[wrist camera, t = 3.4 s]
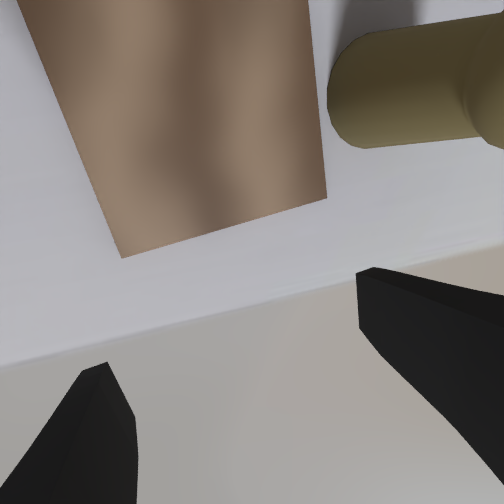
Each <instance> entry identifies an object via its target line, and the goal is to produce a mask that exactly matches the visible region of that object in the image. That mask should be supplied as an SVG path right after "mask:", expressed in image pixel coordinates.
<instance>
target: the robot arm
mask: <svg viewBox="0 0 504 504" xmlns="http://www.w3.org/2000/svg"><path fill="white" fill-rule="evenodd" d="M356 285H357V300H358V315H359V328H360V330H361V331H362V332H363V333H364V335H365V336H366V338H367V339H368V340H369V341H370V343H371V344H372V345H373V346H374V348H375V349H376V350H377V351H378V353H379V354H380V355H381V356H382V357H383V358H384V359H385V360H386V361H387V362H388V363H389V364H390V365H391V366H392V367H393V368H394V369H395V370H396V371H397V372H398V373H400V375H401V376H402V377H403V378H404V379H405V380H406V381H407V382H409V383H410V384H411V385H412V386H413V387H414V388H415V389H416V390H417V391H418V392H419V393H420V394H421V395H422V396H423V397H424V398H425V399H426V400H427V401H428V402H429V403H430V404H431V405H432V406H434V408H436V410H438V411H439V412H440V413H441V414H442V415H443V416H444V417H445V418H446V419H447V420H448V421H449V423H451V425H452V426H453V427H454V428H455V429H456V430H457V431H458V432H459V433H460V434H461V436H462V437H463V438H464V439H465V440H466V441H467V442H468V444H469V445H470V446H471V447H472V448H473V449H474V450H475V452H476V453H477V454H478V455H479V456H480V457H481V458H482V460H483V461H484V462H485V463H486V464H487V465H488V467H489V468H490V469H491V470H492V471H493V473H494V474H495V475H496V476H497V477H498V479H499V480H500V481H501V482H502V483H503V485H504V296H503V295H498V294H493V293H488V292H483V291H478V290H473V289H468V288H464V287H459V286H455V285H451V284H447V283H442V282H438V281H434V280H430V279H426V278H422V277H417V276H413V275H409V274H405V273H401V272H396V271H392V270H387V269H382V268H376V267H372V268H370V269H367V270H364V271H361V272H358V273H356ZM137 480H138V446H137V433H136V421H135V416H134V414H133V412H132V410H131V408H130V406H129V404H128V402H127V400H126V398H125V396H124V394H123V392H122V390H121V388H120V386H119V384H118V382H117V380H116V378H115V376H114V374H113V372H112V370H111V368H110V366H109V364H108V362H105V363H102V364H100V365H97V366H94V367H91V368H88V369H85V370H83V371H82V372H81V373H80V375H79V376H78V377H77V379H76V380H75V382H74V383H73V384H72V386H71V387H70V389H69V390H68V392H67V393H66V395H65V396H64V398H63V400H62V401H61V403H60V404H59V405H58V407H57V408H56V410H55V411H54V413H53V415H52V416H51V417H50V419H49V420H48V422H47V423H46V425H45V426H44V428H43V429H42V430H41V432H40V433H39V435H38V436H37V438H36V439H35V441H34V442H33V444H32V445H31V447H30V448H29V450H28V451H27V452H26V454H25V455H24V456H23V458H22V459H21V460H20V462H19V463H18V465H17V466H16V467H15V469H14V470H13V471H12V473H11V474H10V475H9V477H8V478H7V479H6V481H5V482H4V483H3V485H2V486H1V487H0V504H136V502H137Z"/></svg>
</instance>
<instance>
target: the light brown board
mask: <svg viewBox="0 0 504 504" xmlns="http://www.w3.org/2000/svg"><path fill="white" fill-rule="evenodd" d="M17 2H18V5H19V7H20V10H21V12H22V15H23V17H24V20H25V22H26V24H27V27H28V29H29V32H30V34H31V37H32V39H33V42H34V44H35V47H36V49H37V52H38V54H39V56H40V59H41V61H42V64H43V66H44V69H45V71H46V74H47V76H48V79H49V81H50V84H51V86H52V88H53V91H54V93H55V96H56V98H57V101H58V103H59V106H60V108H61V111H62V113H63V115H64V118H65V120H66V123H67V125H68V128H69V130H70V133H71V135H72V138H73V140H74V143H75V145H76V147H77V150H78V152H79V155H80V157H81V160H82V162H83V165H84V167H85V170H86V172H87V175H88V177H89V179H90V182H91V184H92V187H93V189H94V192H95V194H96V197H97V199H98V202H99V204H100V207H101V209H102V211H103V214H104V216H105V219H106V221H107V224H108V226H109V229H110V231H111V234H112V236H113V239H114V241H115V243H116V246H117V248H118V251H119V253H120V256H121V258H126V257H129V256H132V255H136V254H139V253H143V252H146V251H149V250H153V249H156V248H159V247H163V246H166V245H170V244H173V243H176V242H180V241H183V240H187V239H190V238H193V237H197V236H200V235H204V234H207V233H210V232H214V231H217V230H221V229H224V228H227V227H231V226H234V225H238V224H241V223H244V222H248V221H251V220H255V219H258V218H261V217H265V216H268V215H271V214H275V213H278V212H282V211H285V210H288V209H292V208H295V207H299V206H302V205H305V204H309V203H312V202H316V201H319V200H322V199H326V198H327V191H326V181H325V170H324V160H323V150H322V139H321V129H320V119H319V108H318V98H317V88H316V77H315V67H314V57H313V46H312V36H311V26H310V15H309V5H308V0H17Z"/></svg>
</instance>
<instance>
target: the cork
mask: <svg viewBox="0 0 504 504" xmlns="http://www.w3.org/2000/svg"><path fill="white" fill-rule="evenodd" d="M327 109H328V112H329V116H330V120H331V123H332V125H333V127H334V129H335V130H336V132H337V133H338V135H339V136H340V138H342V139H343V140H344V141H346V142H347V143H348V144H350V145H351V146H355V147H359V148H363V149H367V148H377V147H386V146H396V145H406V144H415V143H425V142H434V141H444V140H454V139H463V138H473V137H482V138H483V139H484V140H485V141H486V142H487V143H488V144H490V145H493V146H496V147H498V148H501V149H504V10H503V11H502V12H501V13H496V14H489V15H483V16H476V17H470V18H463V19H457V20H450V21H444V22H437V23H431V24H424V25H418V26H411V27H405V28H398V29H392V30H385V31H379V32H372V33H368V34H366V35H364V36H362V37H360V38H358V39H355V40H354V41H353V42H352V43H351V44H350V45H349V46H348V47H347V48H346V49H345V50H344V51H343V52H342V53H341V54H340V56H339V58H338V60H337V62H336V63H335V65H334V67H333V69H332V72H331V76H330V80H329V84H328V88H327Z"/></svg>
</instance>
